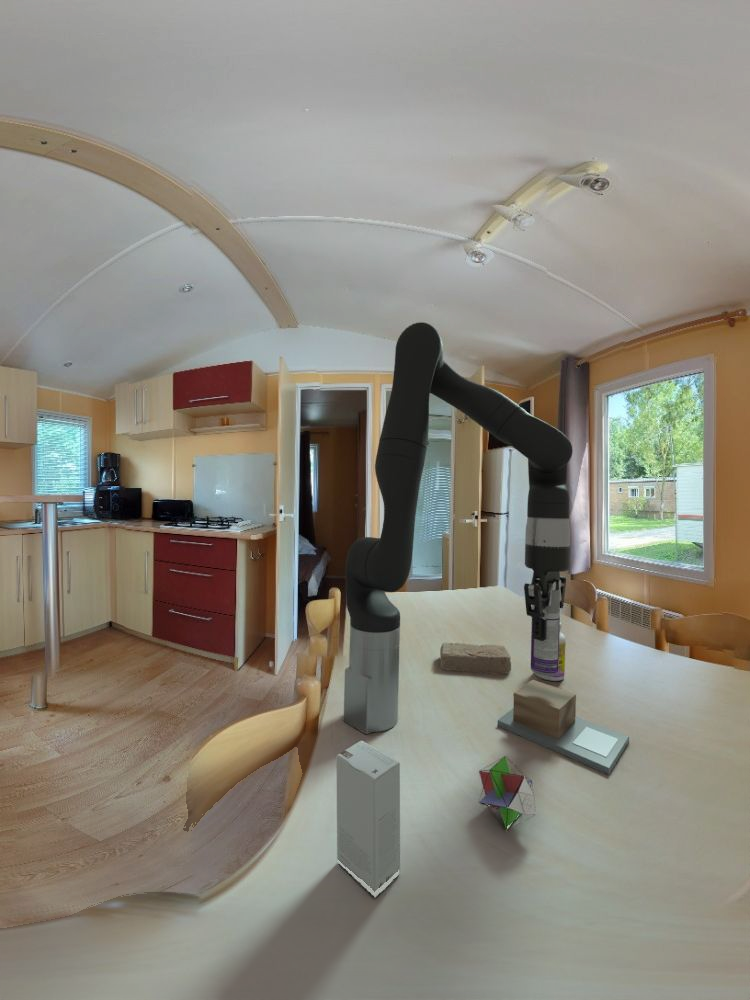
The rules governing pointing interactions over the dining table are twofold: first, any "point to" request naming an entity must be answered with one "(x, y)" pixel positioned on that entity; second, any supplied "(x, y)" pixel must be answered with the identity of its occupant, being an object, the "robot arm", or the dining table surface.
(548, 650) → the container
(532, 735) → the slate board
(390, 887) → the dining table surface
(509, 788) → the geometric puzzle
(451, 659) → the brick
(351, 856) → the skincare box
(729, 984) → the dining table surface
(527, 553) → the robot arm
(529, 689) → the walnut plinth
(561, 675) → the supplement bottle
